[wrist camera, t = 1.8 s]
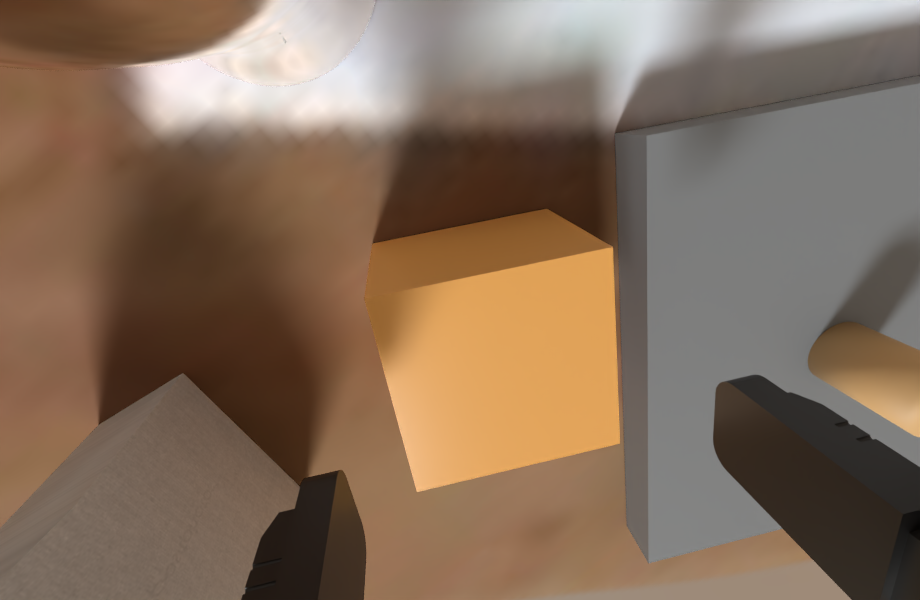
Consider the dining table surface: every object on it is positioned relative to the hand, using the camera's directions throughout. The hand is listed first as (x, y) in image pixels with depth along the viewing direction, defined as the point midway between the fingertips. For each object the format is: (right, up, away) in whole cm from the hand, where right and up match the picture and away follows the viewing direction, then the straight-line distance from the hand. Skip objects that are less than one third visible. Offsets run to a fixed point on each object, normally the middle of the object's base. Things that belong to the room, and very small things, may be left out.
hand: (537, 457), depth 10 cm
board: (+11, +2, +9) cm, 15 cm away
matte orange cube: (-1, +3, +7) cm, 8 cm away
